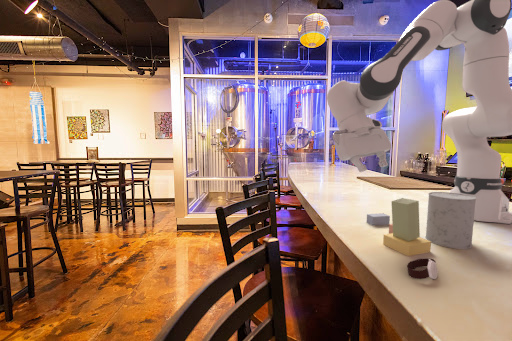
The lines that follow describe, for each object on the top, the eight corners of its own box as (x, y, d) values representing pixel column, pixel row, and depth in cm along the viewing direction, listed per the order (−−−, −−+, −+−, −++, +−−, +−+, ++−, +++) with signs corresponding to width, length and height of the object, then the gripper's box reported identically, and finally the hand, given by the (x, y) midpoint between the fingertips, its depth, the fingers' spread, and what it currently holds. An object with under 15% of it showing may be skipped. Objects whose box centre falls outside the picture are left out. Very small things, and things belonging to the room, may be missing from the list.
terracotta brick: (399, 230, 71) (400, 220, 71) (410, 233, 68) (411, 223, 68) (388, 234, 68) (389, 224, 67) (399, 237, 65) (400, 227, 65)
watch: (428, 287, 42) (430, 267, 42) (400, 275, 46) (401, 258, 46) (442, 273, 47) (444, 255, 47) (415, 264, 51) (416, 247, 50)
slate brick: (382, 222, 79) (383, 213, 79) (389, 225, 76) (389, 215, 76) (366, 223, 78) (367, 214, 78) (372, 226, 75) (372, 216, 75)
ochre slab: (403, 242, 63) (404, 231, 62) (430, 253, 56) (431, 241, 56) (383, 245, 61) (383, 234, 60) (408, 258, 54) (409, 245, 54)
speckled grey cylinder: (482, 250, 57) (486, 200, 55) (437, 247, 59) (440, 198, 57) (456, 236, 66) (460, 192, 65) (418, 233, 68) (421, 191, 67)
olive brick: (403, 231, 61) (402, 198, 60) (419, 236, 57) (418, 200, 56) (393, 236, 59) (391, 201, 58) (408, 241, 56) (407, 204, 54)
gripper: (337, 125, 67) (357, 170, 63) (384, 121, 76) (404, 159, 72) (324, 136, 73) (342, 178, 69) (369, 131, 82) (387, 167, 78)
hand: (374, 168), depth 71 cm, fingers open, 8 cm apart
